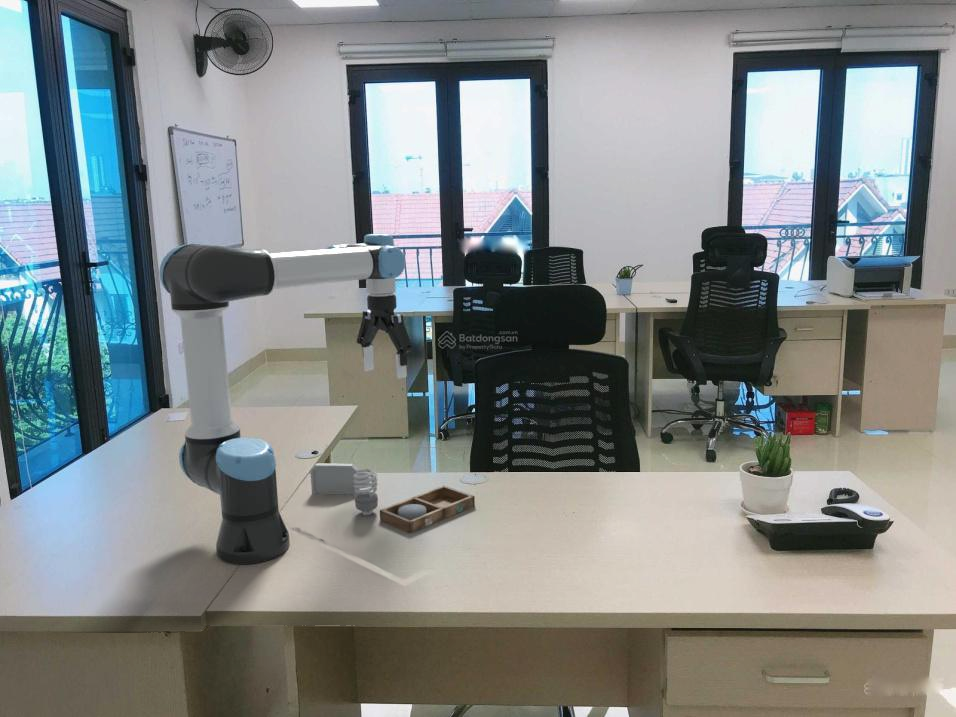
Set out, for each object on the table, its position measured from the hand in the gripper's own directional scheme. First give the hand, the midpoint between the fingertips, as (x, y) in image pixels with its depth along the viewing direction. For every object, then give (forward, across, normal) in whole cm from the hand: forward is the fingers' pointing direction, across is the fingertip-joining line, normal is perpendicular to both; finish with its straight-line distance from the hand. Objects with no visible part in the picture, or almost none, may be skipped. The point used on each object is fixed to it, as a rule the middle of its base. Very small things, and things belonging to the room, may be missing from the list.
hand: (385, 374), depth 204 cm
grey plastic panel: (+28, 0, +18) cm, 34 cm away
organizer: (+28, -29, +12) cm, 42 cm away
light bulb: (+28, -18, +22) cm, 40 cm away
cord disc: (+27, -29, +17) cm, 43 cm away
